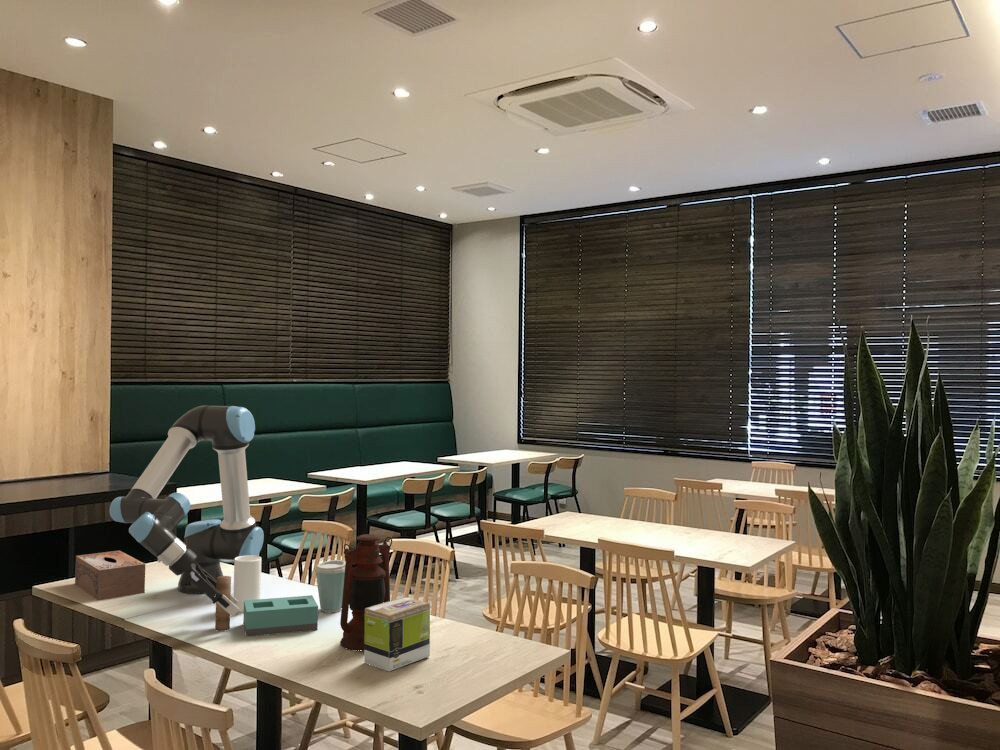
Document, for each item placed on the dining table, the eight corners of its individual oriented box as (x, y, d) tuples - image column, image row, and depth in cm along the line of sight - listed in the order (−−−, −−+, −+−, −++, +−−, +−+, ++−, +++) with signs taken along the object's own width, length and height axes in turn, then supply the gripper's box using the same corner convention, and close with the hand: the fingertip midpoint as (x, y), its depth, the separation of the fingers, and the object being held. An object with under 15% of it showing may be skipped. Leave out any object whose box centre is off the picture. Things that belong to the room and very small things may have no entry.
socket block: (243, 623, 234) (243, 600, 234) (311, 618, 241) (312, 595, 241) (246, 636, 223) (246, 611, 223) (317, 630, 230) (318, 606, 230)
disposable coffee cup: (328, 616, 243) (330, 568, 243) (306, 610, 249) (307, 562, 249) (354, 609, 251) (355, 562, 251) (332, 603, 258) (333, 557, 258)
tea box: (404, 648, 216) (405, 595, 216) (430, 657, 210) (431, 602, 210) (362, 663, 205) (363, 606, 205) (388, 673, 198) (390, 614, 198)
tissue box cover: (74, 584, 273) (75, 555, 273) (118, 578, 283) (119, 550, 283) (98, 601, 254) (99, 570, 254) (144, 593, 264) (145, 563, 264)
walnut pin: (214, 627, 230) (216, 576, 230) (229, 626, 231) (230, 575, 232) (215, 631, 226) (216, 579, 226) (230, 630, 228) (231, 578, 228)
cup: (264, 605, 253) (265, 555, 253) (253, 612, 245) (255, 561, 245) (239, 604, 254) (241, 554, 254) (228, 611, 246) (229, 560, 246)
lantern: (355, 656, 209) (358, 544, 209) (325, 643, 219) (328, 536, 219) (405, 641, 222) (408, 535, 222) (374, 630, 231) (377, 528, 232)
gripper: (168, 558, 233) (223, 608, 239) (166, 575, 214) (227, 629, 219) (187, 540, 235) (242, 589, 241) (187, 555, 216) (247, 608, 221)
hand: (235, 608), depth 230 cm, fingers open, 8 cm apart
